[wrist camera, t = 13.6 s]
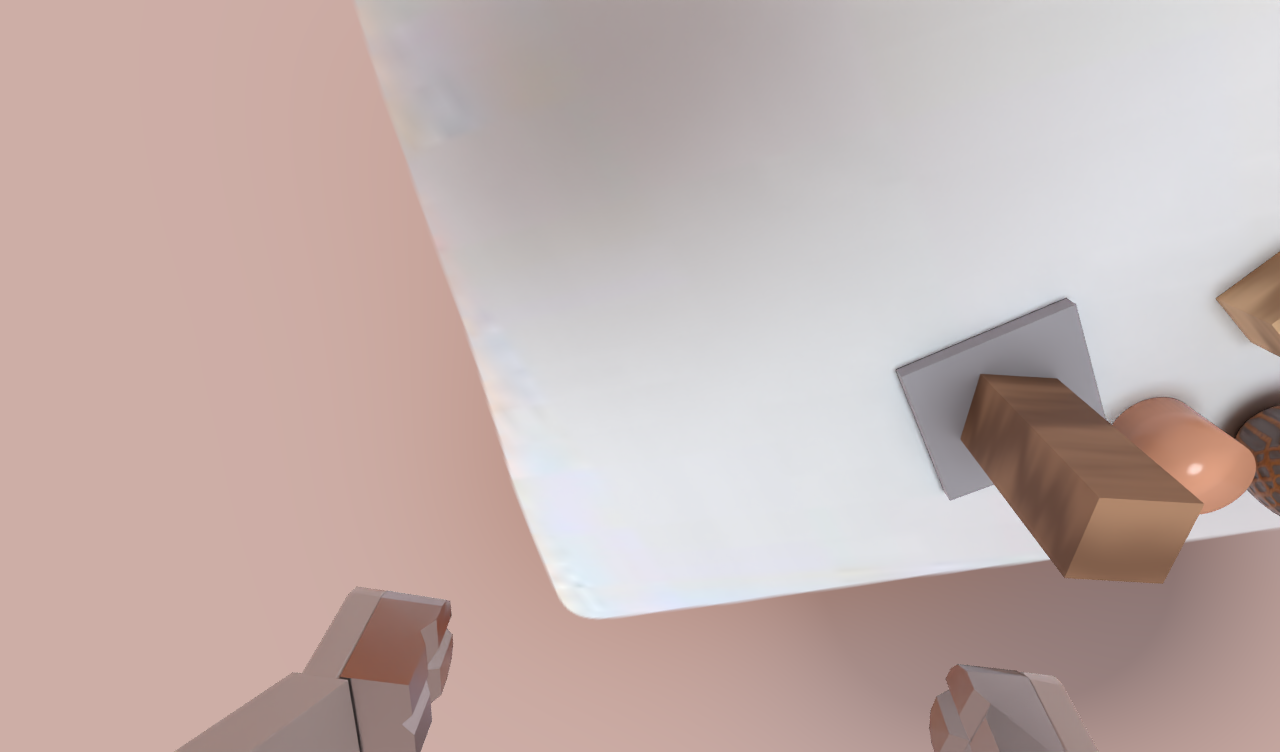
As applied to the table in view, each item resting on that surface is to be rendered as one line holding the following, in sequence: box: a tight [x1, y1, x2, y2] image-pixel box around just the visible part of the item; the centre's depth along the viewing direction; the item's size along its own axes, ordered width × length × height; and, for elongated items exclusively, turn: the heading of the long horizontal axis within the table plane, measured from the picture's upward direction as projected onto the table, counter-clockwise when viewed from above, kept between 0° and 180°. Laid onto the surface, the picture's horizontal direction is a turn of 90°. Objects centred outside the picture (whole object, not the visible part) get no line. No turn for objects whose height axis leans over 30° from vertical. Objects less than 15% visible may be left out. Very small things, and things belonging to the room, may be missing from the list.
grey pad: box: [896, 298, 1106, 501], centre depth 41 cm, size 10×10×1 cm
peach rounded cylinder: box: [1112, 397, 1256, 514], centre depth 40 cm, size 5×5×5 cm
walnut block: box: [960, 374, 1204, 584], centre depth 35 cm, size 4×4×12 cm
